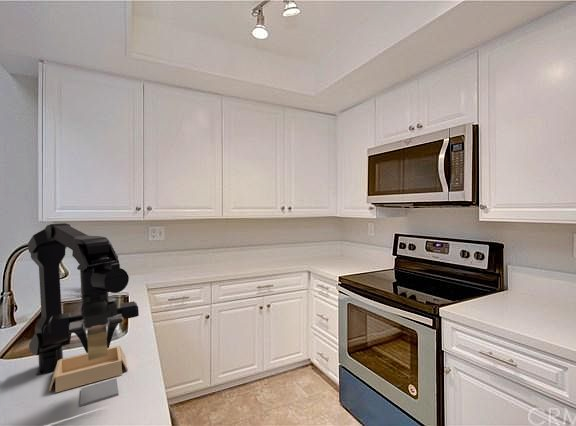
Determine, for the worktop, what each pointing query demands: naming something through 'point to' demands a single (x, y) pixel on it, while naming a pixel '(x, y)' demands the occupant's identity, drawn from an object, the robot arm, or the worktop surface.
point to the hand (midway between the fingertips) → (97, 349)
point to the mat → (98, 392)
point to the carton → (87, 369)
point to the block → (97, 342)
